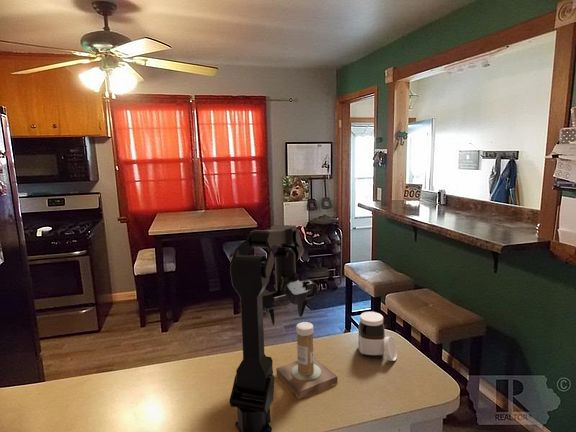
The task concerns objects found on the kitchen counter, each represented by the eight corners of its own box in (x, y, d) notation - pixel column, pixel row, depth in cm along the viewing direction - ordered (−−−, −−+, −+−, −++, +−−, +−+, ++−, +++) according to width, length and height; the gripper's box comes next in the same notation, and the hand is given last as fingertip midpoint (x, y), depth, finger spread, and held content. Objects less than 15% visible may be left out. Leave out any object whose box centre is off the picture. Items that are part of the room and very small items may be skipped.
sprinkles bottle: (317, 372, 101) (316, 326, 98) (303, 378, 98) (302, 331, 96) (307, 364, 105) (306, 319, 102) (294, 370, 102) (292, 324, 100)
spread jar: (356, 343, 120) (357, 309, 118) (392, 344, 119) (393, 309, 116) (360, 364, 108) (360, 327, 106) (400, 365, 107) (401, 328, 105)
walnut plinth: (299, 398, 94) (299, 390, 93) (276, 374, 104) (276, 367, 104) (337, 383, 100) (337, 375, 99) (312, 361, 110) (312, 354, 110)
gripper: (269, 284, 94) (271, 341, 97) (329, 270, 103) (329, 323, 106) (250, 271, 103) (253, 324, 106) (307, 260, 112) (308, 309, 115)
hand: (286, 320), depth 108 cm, fingers open, 9 cm apart
